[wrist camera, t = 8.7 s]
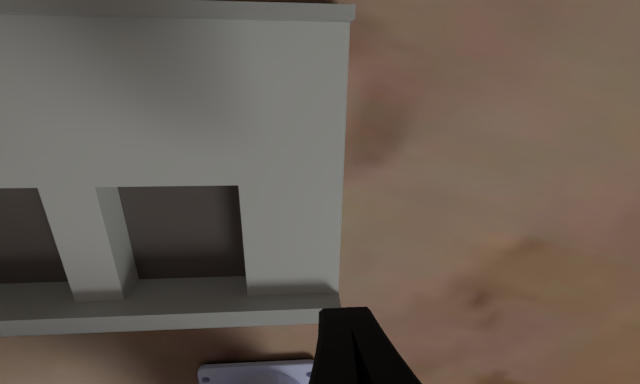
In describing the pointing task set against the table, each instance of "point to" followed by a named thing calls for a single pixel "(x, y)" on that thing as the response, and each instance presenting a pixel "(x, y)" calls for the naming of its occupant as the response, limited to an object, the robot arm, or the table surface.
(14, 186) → the tray
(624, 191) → the table surface
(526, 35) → the table surface
